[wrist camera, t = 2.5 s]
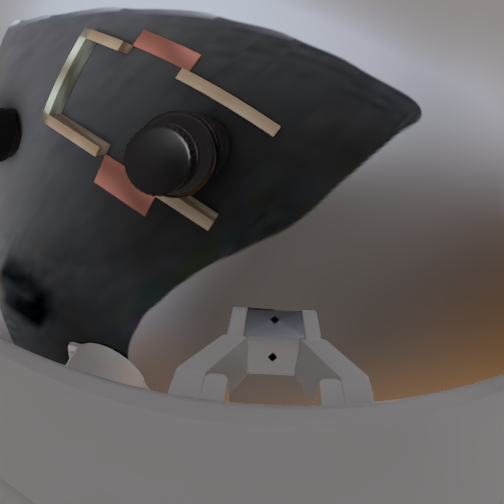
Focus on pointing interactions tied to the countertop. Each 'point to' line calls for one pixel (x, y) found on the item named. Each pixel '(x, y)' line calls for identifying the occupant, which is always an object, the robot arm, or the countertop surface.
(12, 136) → the portable speaker
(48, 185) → the countertop surface
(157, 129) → the supplement bottle
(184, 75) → the channel
